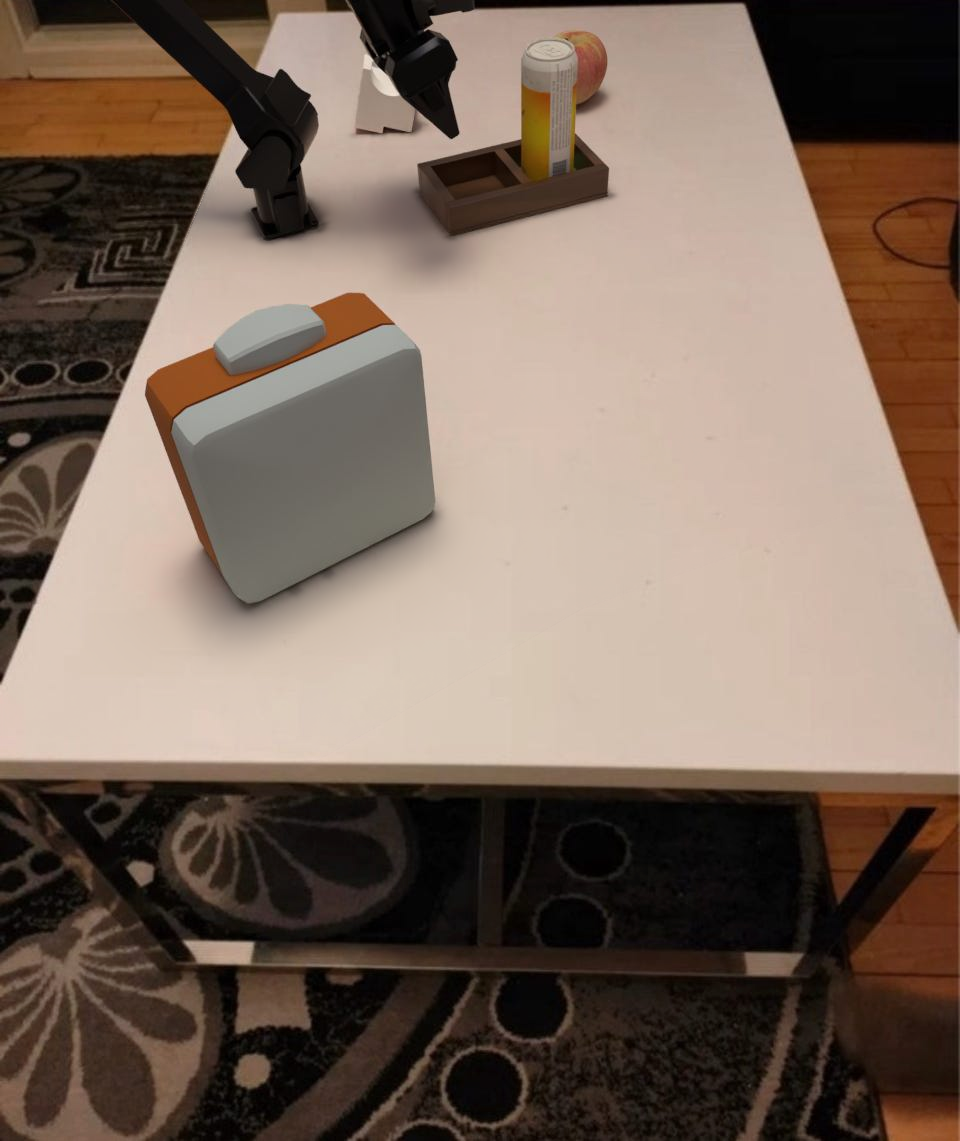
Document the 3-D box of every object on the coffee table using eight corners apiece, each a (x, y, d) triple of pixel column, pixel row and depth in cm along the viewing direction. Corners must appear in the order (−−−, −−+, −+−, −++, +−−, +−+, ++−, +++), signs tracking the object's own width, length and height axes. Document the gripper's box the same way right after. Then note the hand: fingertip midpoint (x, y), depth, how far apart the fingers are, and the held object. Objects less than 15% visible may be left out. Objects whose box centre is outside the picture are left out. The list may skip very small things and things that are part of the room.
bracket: (409, 139, 130) (420, 81, 124) (354, 127, 128) (363, 68, 123) (412, 91, 138) (422, 35, 132) (360, 80, 136) (369, 22, 131)
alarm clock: (388, 456, 91) (360, 257, 75) (440, 514, 86) (422, 315, 71) (199, 545, 85) (125, 349, 69) (244, 613, 80) (175, 420, 64)
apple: (615, 94, 134) (620, 31, 127) (579, 122, 129) (582, 58, 123) (560, 78, 137) (562, 15, 131) (523, 104, 132) (523, 41, 126)
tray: (419, 191, 120) (417, 163, 117) (568, 155, 124) (570, 127, 121) (451, 236, 114) (449, 207, 111) (607, 196, 118) (609, 167, 115)
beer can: (552, 160, 122) (555, 30, 110) (583, 182, 119) (589, 50, 107) (511, 176, 120) (510, 46, 108) (541, 199, 117) (543, 66, 105)
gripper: (465, -63, 87) (538, 104, 97) (419, -88, 101) (487, 60, 111) (355, 10, 88) (439, 167, 98) (325, -25, 102) (401, 116, 112)
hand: (444, 124), depth 105 cm, fingers open, 9 cm apart
